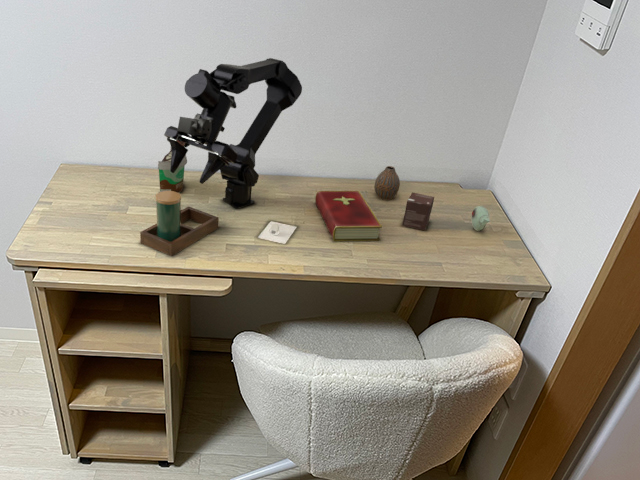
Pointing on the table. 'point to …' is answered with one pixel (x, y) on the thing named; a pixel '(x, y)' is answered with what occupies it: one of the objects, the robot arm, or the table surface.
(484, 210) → the pale green lumpy piece
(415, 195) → the box
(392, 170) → the vase
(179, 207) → the canister
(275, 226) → the adhesive hook
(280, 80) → the robot arm
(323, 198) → the hardcover book
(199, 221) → the rack
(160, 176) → the food container
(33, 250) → the table surface
